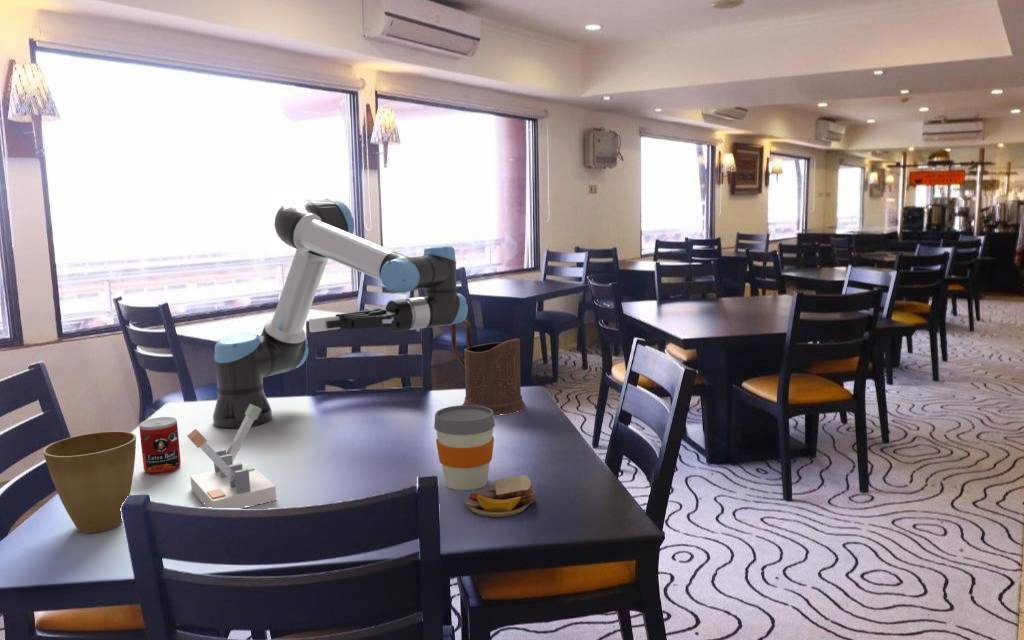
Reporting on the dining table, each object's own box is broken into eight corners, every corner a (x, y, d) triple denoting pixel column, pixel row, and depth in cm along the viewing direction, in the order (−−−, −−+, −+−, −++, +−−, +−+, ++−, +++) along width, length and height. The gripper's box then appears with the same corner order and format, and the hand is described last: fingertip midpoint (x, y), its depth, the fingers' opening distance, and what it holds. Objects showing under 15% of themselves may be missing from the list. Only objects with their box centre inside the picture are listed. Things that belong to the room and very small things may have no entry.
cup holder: (499, 419, 203) (497, 328, 199) (433, 406, 217) (430, 320, 213) (538, 404, 217) (537, 318, 213) (474, 392, 232) (472, 312, 228)
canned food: (144, 477, 164) (139, 429, 163) (143, 466, 171) (138, 419, 170) (182, 471, 168) (178, 423, 166) (179, 460, 175) (175, 414, 173)
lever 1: (235, 487, 149) (186, 436, 143) (243, 480, 150) (195, 428, 143) (238, 491, 147) (189, 439, 141) (247, 483, 148) (198, 431, 142)
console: (191, 489, 157) (188, 455, 156) (249, 476, 164) (247, 443, 163) (213, 516, 143) (210, 479, 142) (276, 500, 150) (273, 465, 149)
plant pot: (157, 507, 148) (150, 429, 145) (120, 541, 133) (111, 454, 131) (81, 509, 148) (72, 430, 145) (35, 543, 133) (24, 457, 130)
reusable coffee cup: (473, 498, 150) (471, 425, 147) (424, 486, 156) (421, 416, 154) (507, 477, 160) (506, 409, 158) (459, 467, 167) (457, 402, 164)
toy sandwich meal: (469, 493, 152) (468, 471, 152) (536, 493, 152) (535, 471, 151) (462, 519, 140) (461, 495, 139) (535, 519, 140) (534, 495, 139)
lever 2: (216, 468, 158) (249, 403, 160) (225, 471, 159) (258, 407, 161) (219, 471, 156) (253, 406, 158) (228, 474, 157) (261, 409, 159)
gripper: (420, 333, 173) (323, 347, 160) (394, 326, 184) (300, 338, 170) (419, 301, 172) (320, 312, 159) (393, 296, 183) (298, 305, 169)
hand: (310, 325), depth 164 cm, fingers closed
